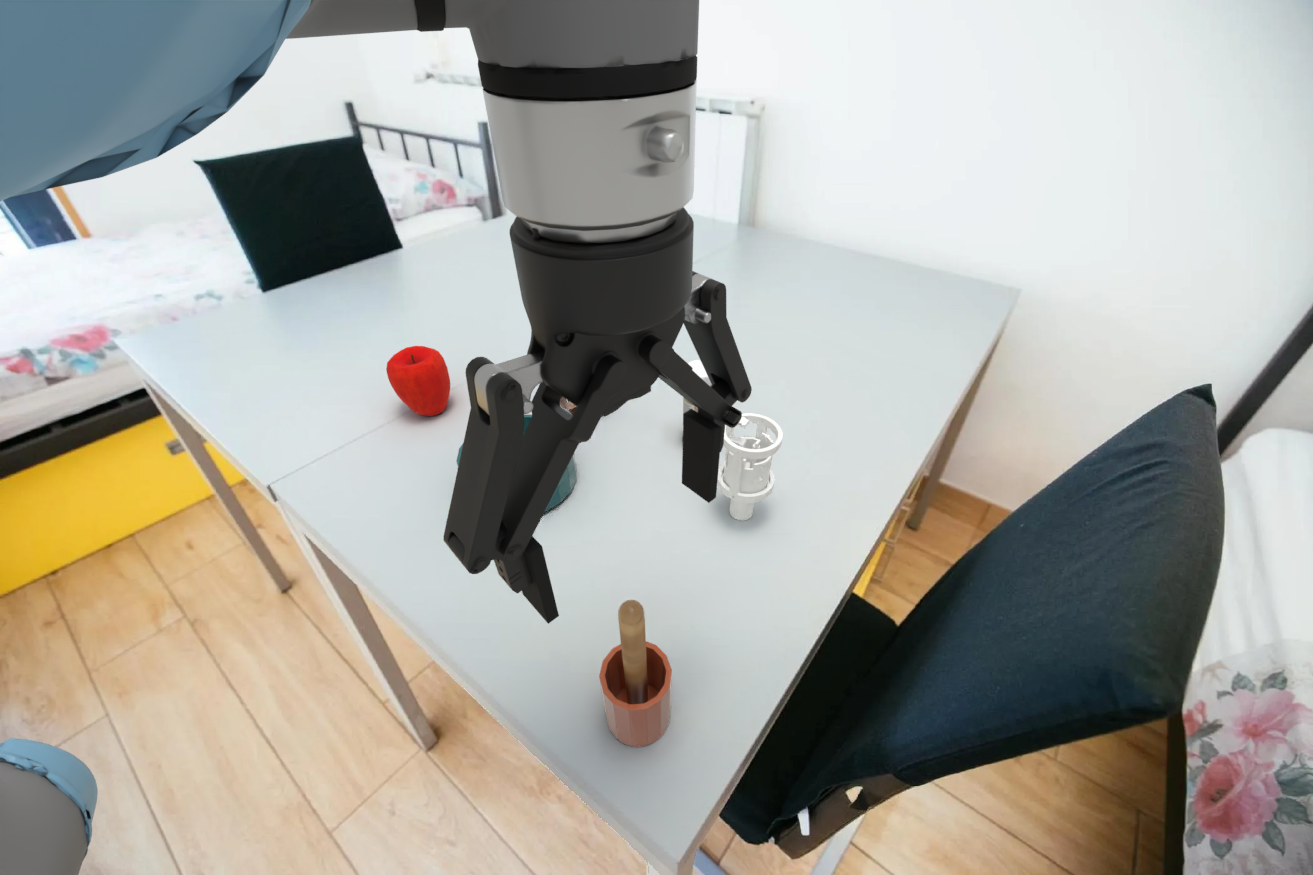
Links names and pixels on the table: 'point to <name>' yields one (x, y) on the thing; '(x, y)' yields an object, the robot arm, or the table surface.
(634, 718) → the utensil pot
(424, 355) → the apple
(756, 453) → the white cylindrical cage
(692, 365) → the sprinkles bottle
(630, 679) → the stick
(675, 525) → the table surface
